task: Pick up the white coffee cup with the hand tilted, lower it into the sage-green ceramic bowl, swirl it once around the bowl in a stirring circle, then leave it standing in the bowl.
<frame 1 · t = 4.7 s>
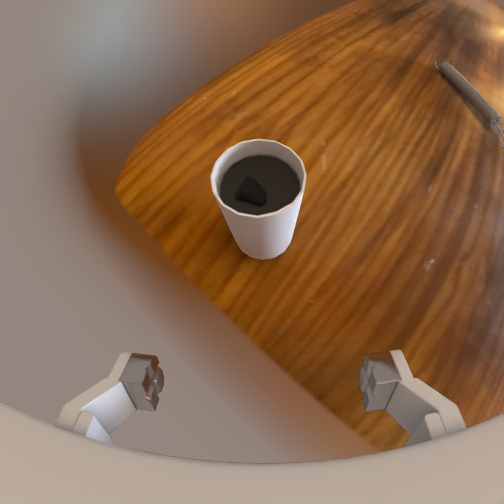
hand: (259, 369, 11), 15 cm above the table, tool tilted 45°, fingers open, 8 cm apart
white coffee cup: (263, 232, 30), on the table
kitchen whisk: (489, 133, 33), on the table
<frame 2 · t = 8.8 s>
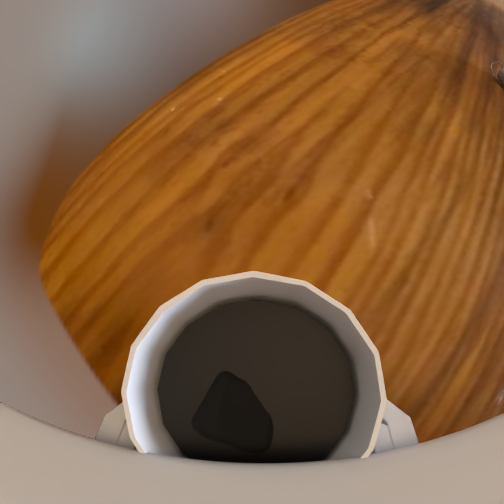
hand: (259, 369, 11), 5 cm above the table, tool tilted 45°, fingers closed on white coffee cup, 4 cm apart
white coffee cup: (263, 375, 16), on the table, touching gripper
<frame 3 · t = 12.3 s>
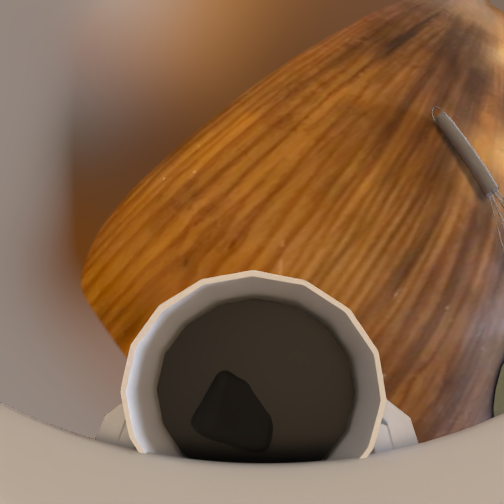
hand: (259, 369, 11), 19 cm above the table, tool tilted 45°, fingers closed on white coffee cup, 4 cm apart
white coffee cup: (263, 375, 16), point 14 cm above the table, touching gripper
kitchen whisk: (483, 203, 33), on the table
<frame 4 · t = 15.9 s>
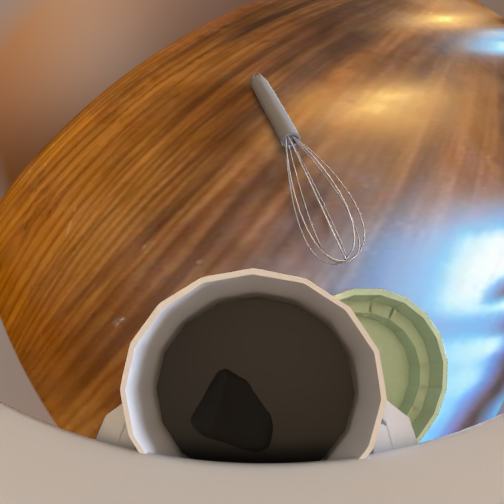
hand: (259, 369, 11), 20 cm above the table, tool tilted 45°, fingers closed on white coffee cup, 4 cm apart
white coffee cup: (263, 374, 16), point 14 cm above the table, touching gripper
kitchen whisk: (288, 156, 37), on the table
bowl: (349, 379, 28), on the table
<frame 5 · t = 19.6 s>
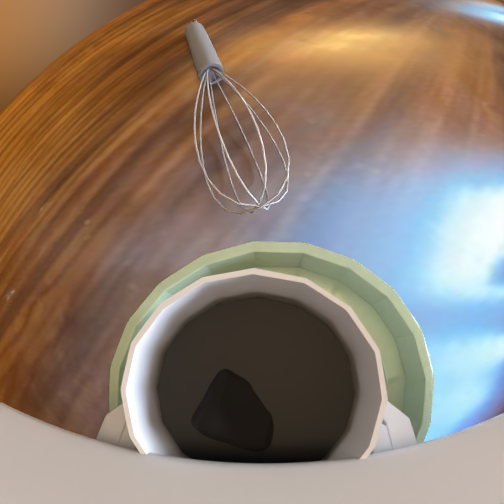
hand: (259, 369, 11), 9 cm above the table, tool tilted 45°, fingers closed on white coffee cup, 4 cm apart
white coffee cup: (264, 374, 16), point 3 cm above the table, touching gripper
kitchen whisk: (212, 95, 28), on the table
bowl: (272, 394, 18), on the table
when the fingers open (6 cm above the table, at t = 23.2 s): white coffee cup stays where it is, resting on bowl.
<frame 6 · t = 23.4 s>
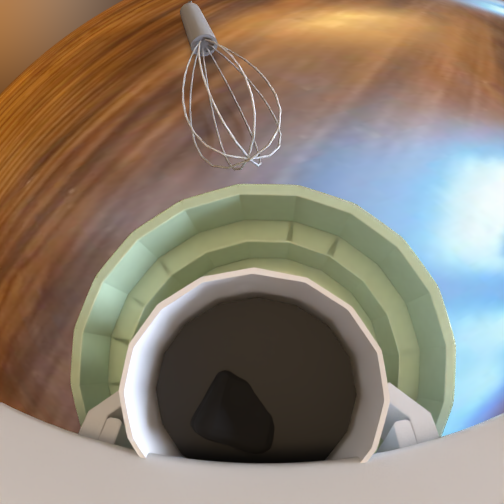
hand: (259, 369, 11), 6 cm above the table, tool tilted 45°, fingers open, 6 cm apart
white coffee cup: (263, 374, 16), resting on bowl
kitchen whisk: (205, 67, 26), on the table
bowl: (263, 374, 16), on the table
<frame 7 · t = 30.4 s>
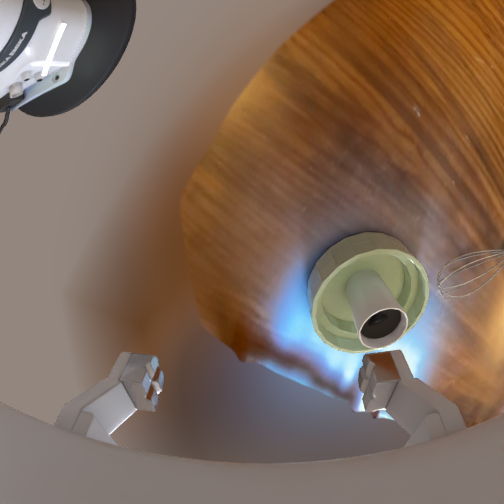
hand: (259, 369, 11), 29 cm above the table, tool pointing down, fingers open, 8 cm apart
white coffee cup: (363, 285, 42), resting on bowl
kitchen whisk: (499, 247, 39), on the table
bowl: (362, 284, 42), on the table
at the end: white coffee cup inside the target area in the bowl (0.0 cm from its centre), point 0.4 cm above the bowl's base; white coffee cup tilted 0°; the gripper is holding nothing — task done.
